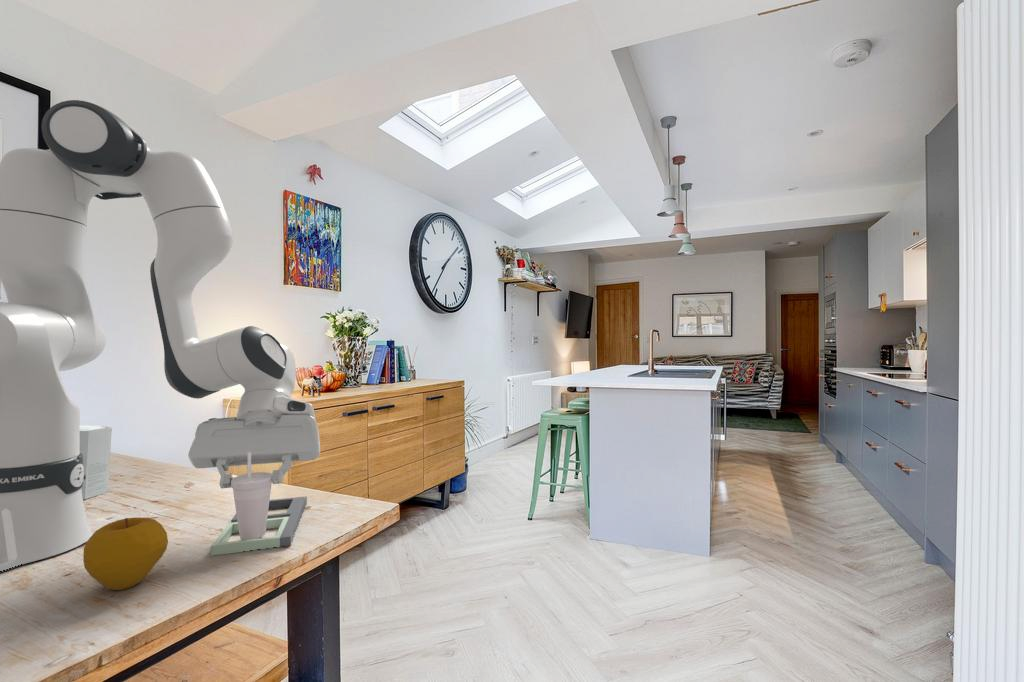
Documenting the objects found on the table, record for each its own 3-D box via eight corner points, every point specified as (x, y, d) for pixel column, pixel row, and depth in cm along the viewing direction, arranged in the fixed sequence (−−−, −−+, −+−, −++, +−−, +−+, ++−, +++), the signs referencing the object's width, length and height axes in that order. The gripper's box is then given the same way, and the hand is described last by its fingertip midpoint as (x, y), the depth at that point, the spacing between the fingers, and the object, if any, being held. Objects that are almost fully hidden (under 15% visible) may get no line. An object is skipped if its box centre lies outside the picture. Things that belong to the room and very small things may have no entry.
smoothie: (221, 538, 76) (221, 453, 76) (258, 524, 82) (258, 445, 82) (246, 546, 73) (246, 458, 73) (282, 531, 79) (282, 449, 79)
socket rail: (211, 555, 72) (211, 545, 72) (244, 509, 91) (244, 502, 91) (290, 545, 75) (290, 536, 75) (306, 503, 95) (306, 496, 95)
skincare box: (48, 499, 98) (48, 429, 98) (76, 490, 104) (76, 424, 104) (86, 500, 97) (86, 429, 98) (112, 491, 103) (112, 424, 104)
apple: (184, 571, 67) (184, 508, 67) (121, 605, 58) (121, 533, 58) (132, 565, 68) (132, 505, 68) (63, 598, 60) (63, 528, 60)
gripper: (195, 408, 81) (172, 480, 72) (321, 403, 87) (315, 469, 78) (203, 429, 85) (183, 499, 76) (323, 423, 91) (318, 487, 82)
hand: (251, 484), depth 77 cm, fingers closed on smoothie, 6 cm apart
